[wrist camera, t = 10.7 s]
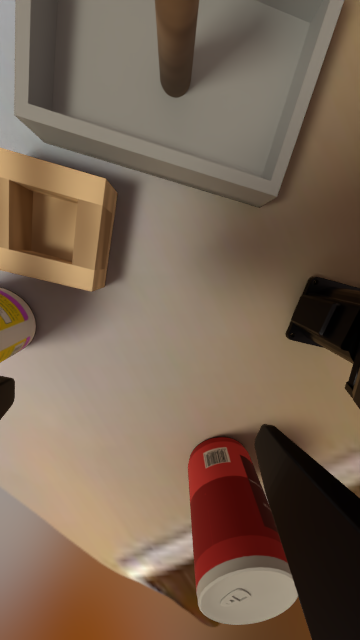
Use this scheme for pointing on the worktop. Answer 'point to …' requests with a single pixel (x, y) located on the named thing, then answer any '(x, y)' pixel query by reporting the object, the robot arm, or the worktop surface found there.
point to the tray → (163, 110)
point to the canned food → (235, 538)
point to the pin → (176, 43)
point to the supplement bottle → (14, 324)
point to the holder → (54, 222)
